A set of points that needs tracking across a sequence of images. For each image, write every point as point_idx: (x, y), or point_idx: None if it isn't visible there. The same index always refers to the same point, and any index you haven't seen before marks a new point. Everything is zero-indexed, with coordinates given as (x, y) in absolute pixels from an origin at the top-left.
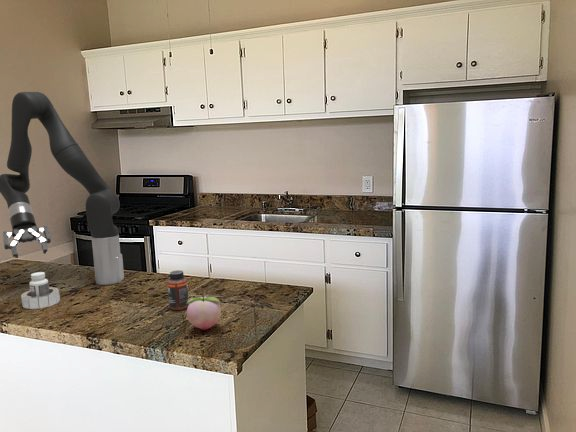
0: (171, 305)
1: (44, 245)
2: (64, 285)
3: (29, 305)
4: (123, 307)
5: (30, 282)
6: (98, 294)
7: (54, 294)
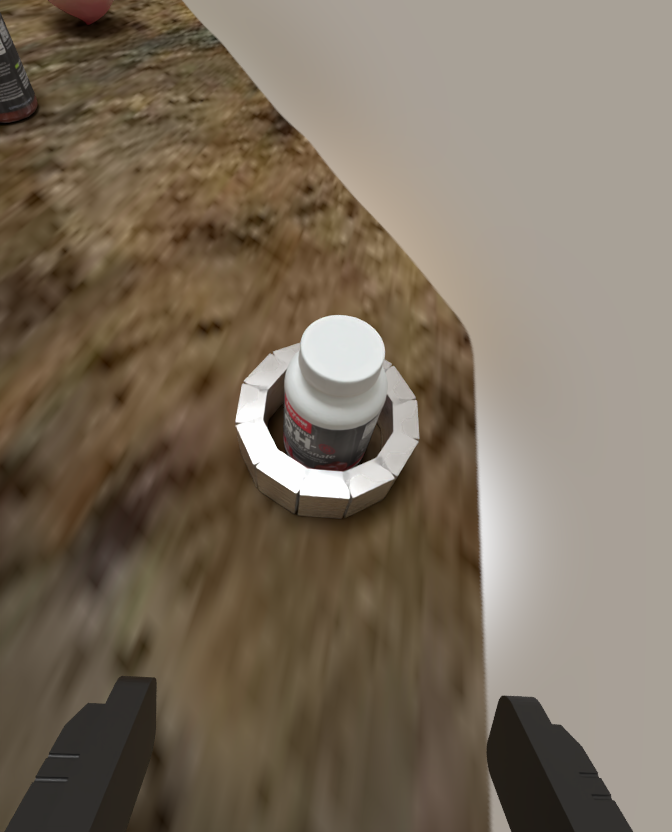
0: (32, 89)
1: (79, 764)
2: None
3: None
4: (113, 198)
5: (383, 374)
6: (75, 372)
7: (278, 352)
